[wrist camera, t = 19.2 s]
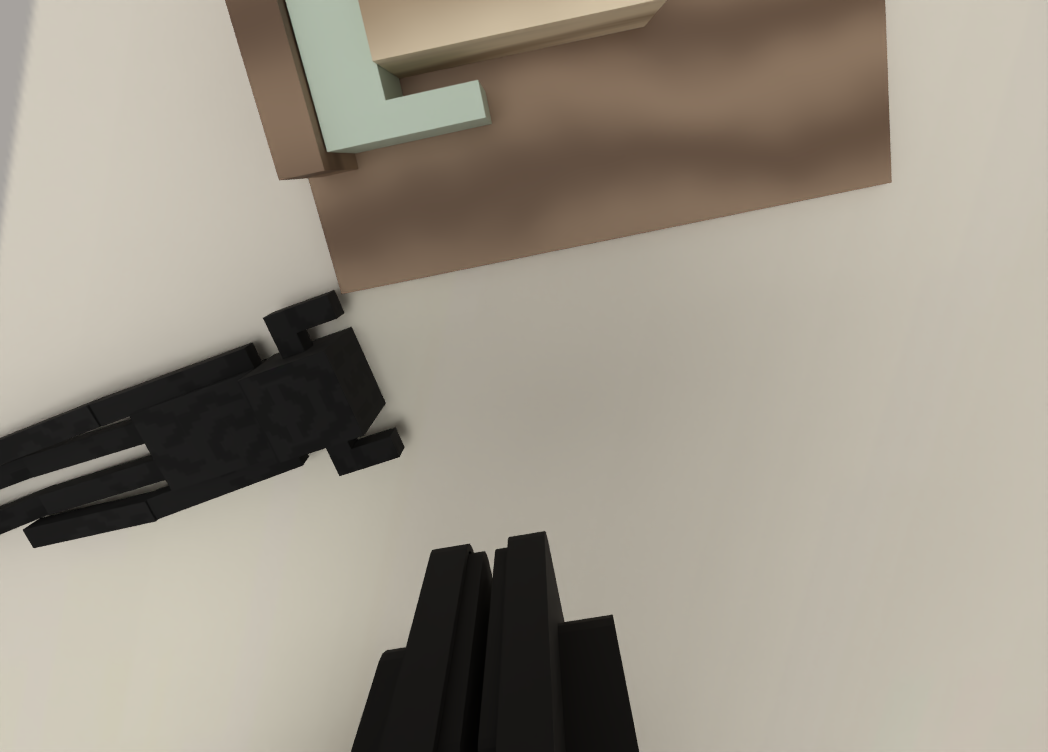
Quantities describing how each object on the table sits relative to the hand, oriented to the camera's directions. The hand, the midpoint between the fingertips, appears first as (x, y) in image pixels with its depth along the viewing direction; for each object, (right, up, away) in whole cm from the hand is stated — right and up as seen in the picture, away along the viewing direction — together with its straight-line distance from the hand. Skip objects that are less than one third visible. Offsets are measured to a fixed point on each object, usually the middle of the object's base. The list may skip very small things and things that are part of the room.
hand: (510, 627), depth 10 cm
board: (+3, +20, +23) cm, 31 cm away
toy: (-22, 0, +30) cm, 38 cm away
